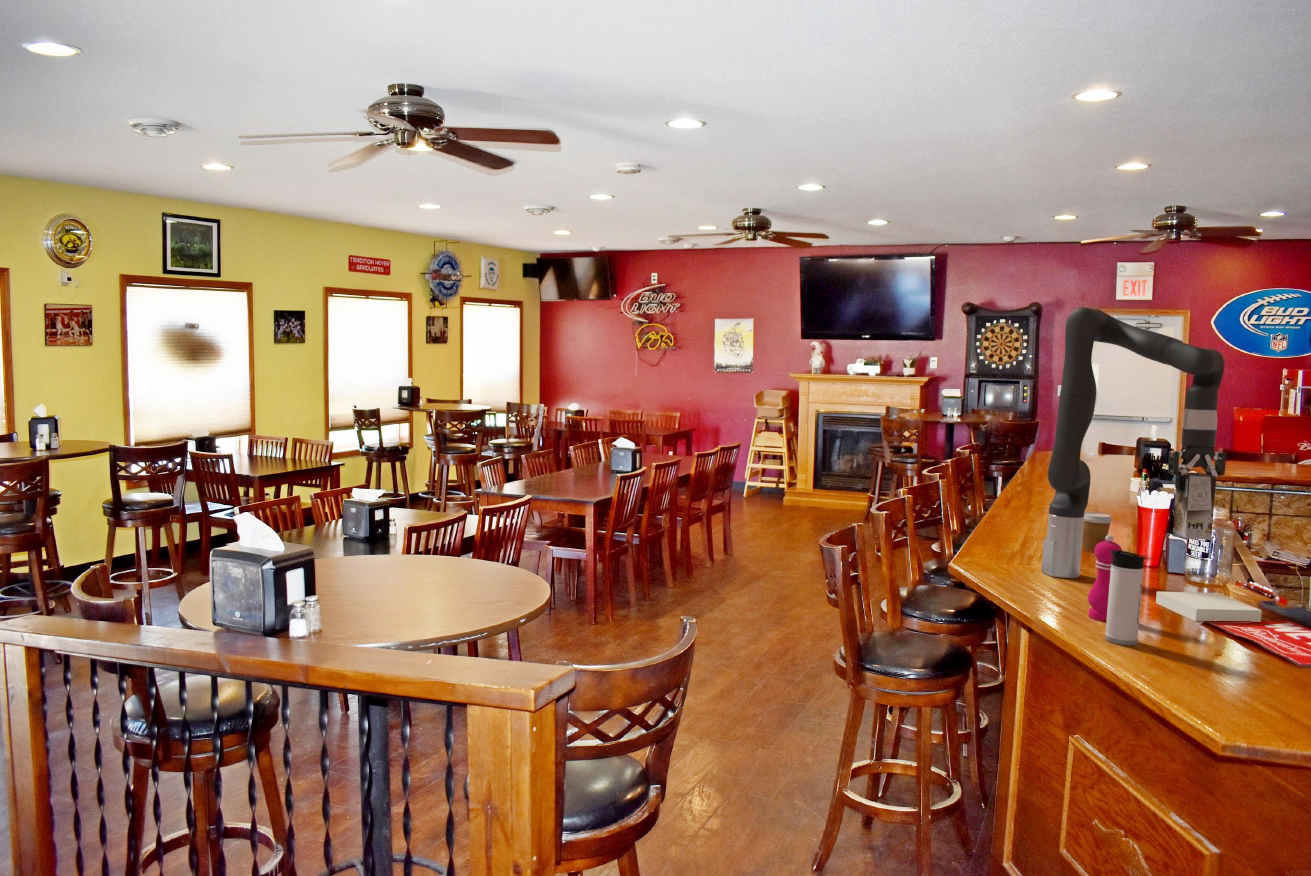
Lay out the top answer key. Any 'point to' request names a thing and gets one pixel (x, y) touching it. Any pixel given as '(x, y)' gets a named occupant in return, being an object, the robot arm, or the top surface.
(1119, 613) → the travel mug
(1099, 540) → the disposable coffee cup
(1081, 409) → the robot arm
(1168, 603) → the plinth
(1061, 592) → the top surface
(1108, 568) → the pepper mill
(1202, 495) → the coffee box
